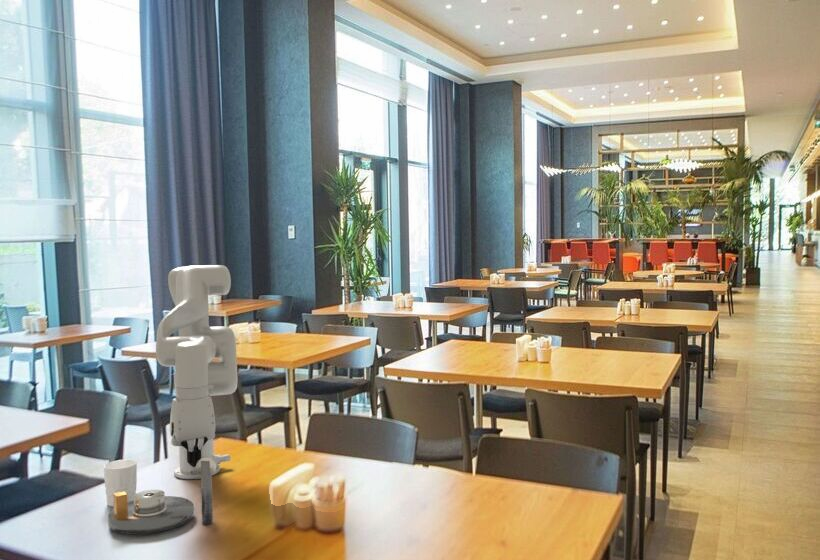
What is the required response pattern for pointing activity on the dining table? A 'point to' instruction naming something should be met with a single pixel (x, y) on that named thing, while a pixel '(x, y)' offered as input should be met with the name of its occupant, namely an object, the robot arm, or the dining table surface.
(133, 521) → the turntable
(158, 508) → the cover
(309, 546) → the dining table surface
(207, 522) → the dial post
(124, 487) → the white cup
